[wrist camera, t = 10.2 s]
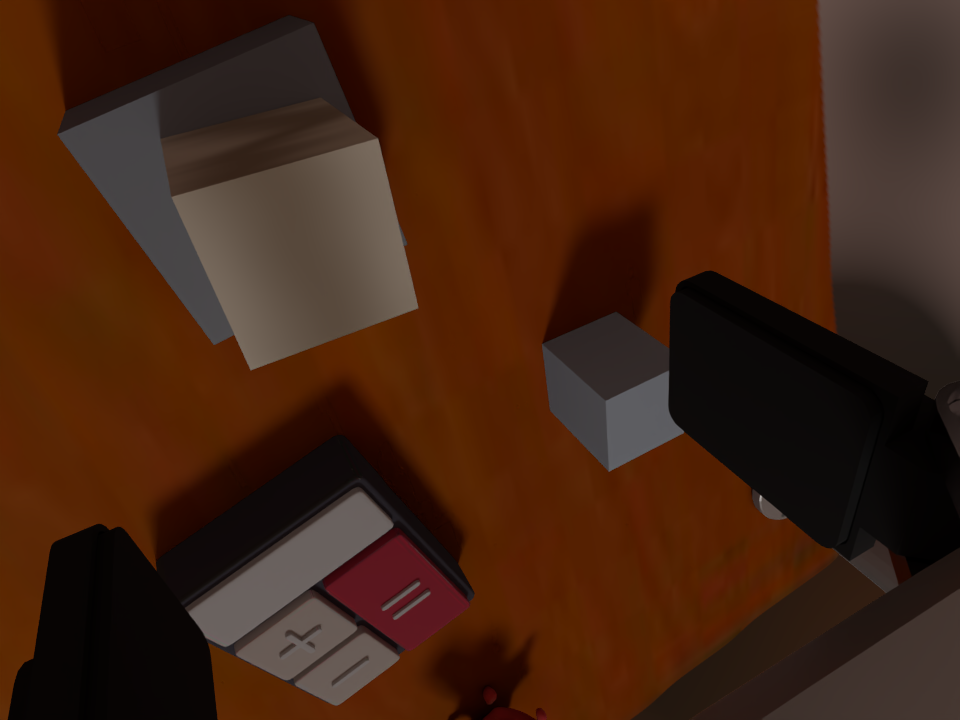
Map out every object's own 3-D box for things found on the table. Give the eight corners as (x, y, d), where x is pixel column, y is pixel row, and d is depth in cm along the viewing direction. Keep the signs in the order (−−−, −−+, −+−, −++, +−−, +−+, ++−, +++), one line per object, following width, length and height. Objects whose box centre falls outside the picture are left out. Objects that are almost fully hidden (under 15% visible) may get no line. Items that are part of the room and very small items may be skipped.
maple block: (320, 97, 20) (378, 138, 15) (360, 238, 23) (418, 307, 18) (160, 138, 19) (171, 196, 14) (224, 283, 22) (250, 369, 17)
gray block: (615, 311, 36) (687, 361, 32) (617, 378, 39) (683, 432, 34) (541, 343, 35) (605, 400, 30) (549, 410, 38) (609, 471, 33)
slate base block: (286, 14, 22) (313, 22, 19) (375, 212, 27) (407, 244, 24) (66, 109, 21) (57, 134, 18) (202, 299, 26) (214, 345, 23)
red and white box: (335, 717, 38) (158, 633, 27) (316, 656, 41) (150, 559, 30) (483, 606, 39) (366, 484, 29) (453, 554, 42) (339, 428, 32)
